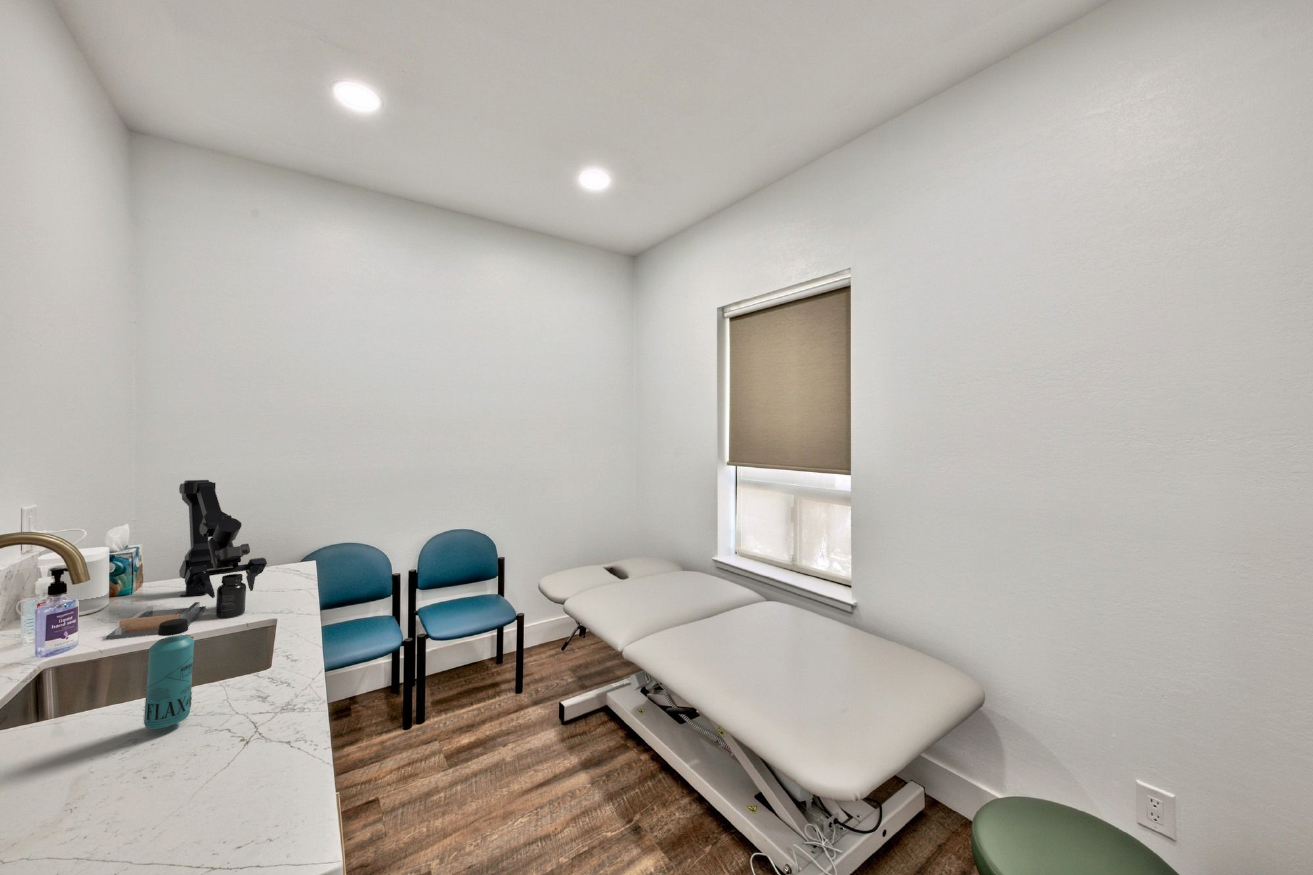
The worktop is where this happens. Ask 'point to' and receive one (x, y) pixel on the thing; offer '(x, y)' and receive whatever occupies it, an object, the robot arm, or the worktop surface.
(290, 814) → the worktop surface
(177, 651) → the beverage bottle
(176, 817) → the worktop surface
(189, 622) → the rail plate
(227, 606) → the supplement bottle
